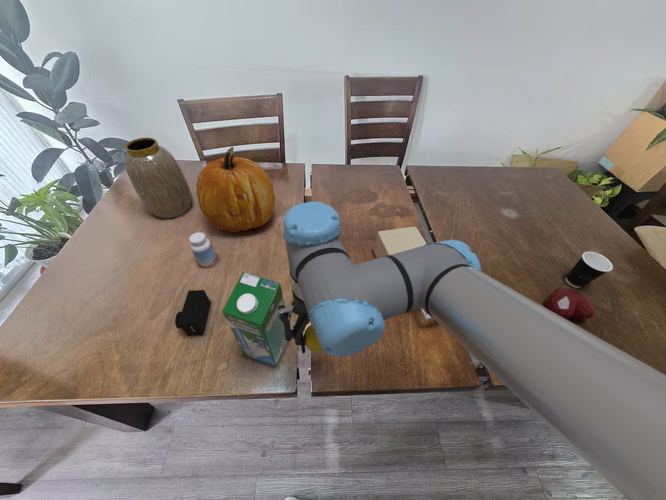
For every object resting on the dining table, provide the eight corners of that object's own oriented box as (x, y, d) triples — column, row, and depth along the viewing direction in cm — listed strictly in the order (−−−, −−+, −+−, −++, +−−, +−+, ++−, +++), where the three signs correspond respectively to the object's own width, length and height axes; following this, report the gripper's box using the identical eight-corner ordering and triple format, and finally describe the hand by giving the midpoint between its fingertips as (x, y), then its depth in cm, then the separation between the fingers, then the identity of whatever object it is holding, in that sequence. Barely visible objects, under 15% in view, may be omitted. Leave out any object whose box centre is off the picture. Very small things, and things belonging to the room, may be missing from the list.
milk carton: (244, 355, 72) (218, 305, 53) (261, 325, 78) (242, 271, 59) (275, 366, 70) (259, 319, 52) (290, 335, 76) (280, 282, 58)
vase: (203, 199, 116) (179, 136, 96) (178, 225, 104) (145, 160, 85) (168, 191, 118) (137, 129, 98) (139, 216, 107) (98, 152, 87)
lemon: (301, 354, 62) (299, 338, 56) (307, 332, 65) (306, 315, 60) (325, 359, 61) (326, 343, 55) (330, 336, 65) (331, 319, 59)
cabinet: (426, 277, 91) (435, 258, 84) (387, 284, 89) (393, 265, 82) (409, 245, 101) (415, 226, 94) (373, 251, 99) (377, 231, 91)
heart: (532, 293, 87) (546, 323, 82) (549, 281, 81) (566, 313, 75) (568, 293, 88) (584, 323, 82) (588, 282, 82) (607, 314, 76)
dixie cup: (573, 271, 95) (597, 249, 87) (592, 289, 90) (619, 268, 82) (554, 274, 94) (576, 253, 86) (572, 293, 89) (598, 273, 81)
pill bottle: (219, 263, 92) (209, 240, 84) (200, 270, 90) (188, 246, 82) (215, 251, 96) (205, 228, 88) (197, 257, 94) (185, 234, 86)
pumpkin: (270, 197, 118) (258, 127, 96) (283, 231, 104) (273, 158, 82) (206, 209, 111) (178, 137, 89) (211, 248, 97) (179, 173, 75)
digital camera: (192, 303, 82) (183, 290, 77) (211, 302, 82) (203, 289, 77) (182, 336, 75) (172, 324, 70) (203, 335, 75) (194, 322, 70)
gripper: (360, 260, 50) (350, 322, 67) (257, 276, 47) (274, 337, 64) (373, 294, 45) (359, 352, 62) (258, 314, 42) (277, 369, 59)
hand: (316, 344), depth 63 cm, fingers closed on lemon, 5 cm apart
